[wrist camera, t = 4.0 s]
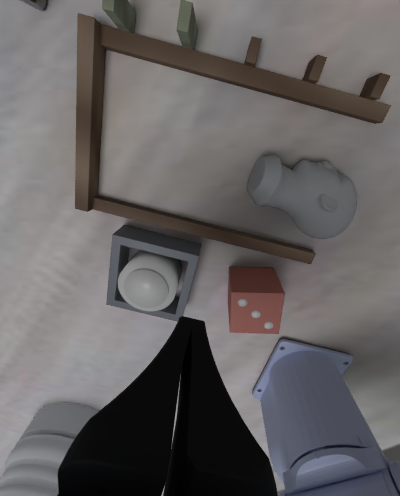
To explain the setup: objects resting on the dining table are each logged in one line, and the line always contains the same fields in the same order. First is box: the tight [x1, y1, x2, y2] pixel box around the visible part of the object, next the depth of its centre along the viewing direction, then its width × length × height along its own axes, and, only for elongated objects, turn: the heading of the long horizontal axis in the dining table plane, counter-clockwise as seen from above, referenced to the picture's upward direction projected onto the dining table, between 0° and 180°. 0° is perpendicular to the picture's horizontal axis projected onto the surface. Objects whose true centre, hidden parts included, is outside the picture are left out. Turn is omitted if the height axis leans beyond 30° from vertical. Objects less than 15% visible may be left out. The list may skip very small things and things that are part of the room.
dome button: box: [118, 250, 181, 311], centre depth 20 cm, size 5×5×3 cm
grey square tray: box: [106, 225, 201, 321], centre depth 21 cm, size 7×7×2 cm
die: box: [228, 267, 285, 334], centre depth 20 cm, size 4×4×4 cm
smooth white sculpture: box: [247, 155, 357, 239], centre depth 17 cm, size 4×8×5 cm
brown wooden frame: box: [75, 0, 391, 264], centre depth 16 cm, size 13×20×3 cm, turn 76°
